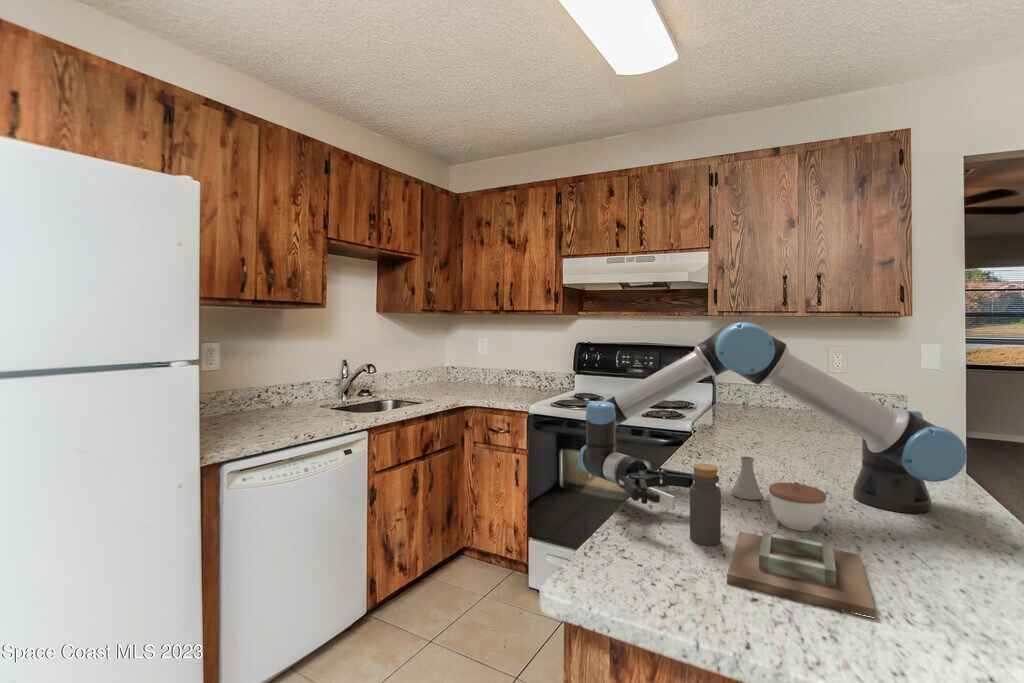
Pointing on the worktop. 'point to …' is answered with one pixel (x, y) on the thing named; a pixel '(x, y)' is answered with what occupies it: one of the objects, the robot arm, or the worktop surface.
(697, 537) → the bottle
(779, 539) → the socket board
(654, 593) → the worktop surface
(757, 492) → the flask
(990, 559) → the worktop surface
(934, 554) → the worktop surface
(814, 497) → the lidded jar
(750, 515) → the worktop surface
